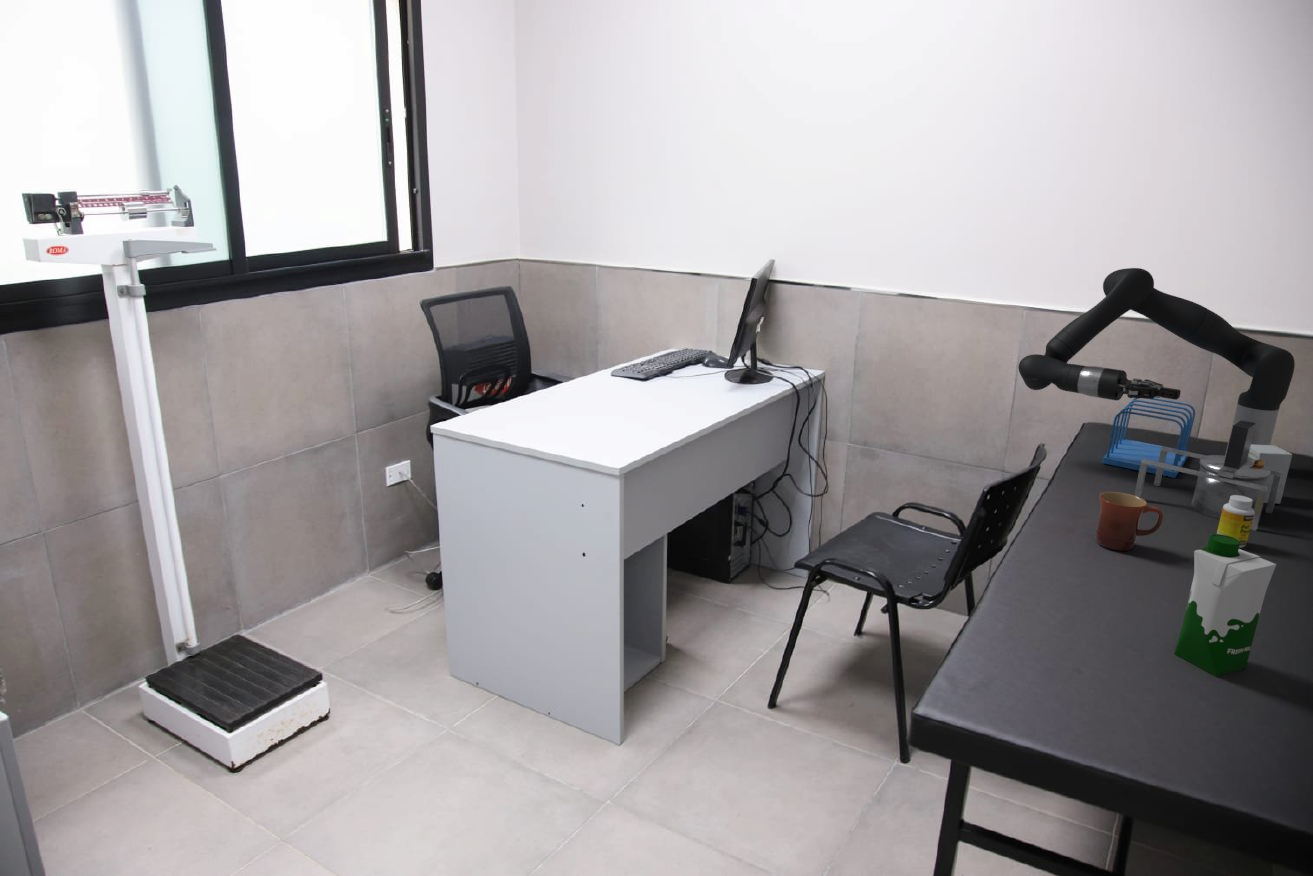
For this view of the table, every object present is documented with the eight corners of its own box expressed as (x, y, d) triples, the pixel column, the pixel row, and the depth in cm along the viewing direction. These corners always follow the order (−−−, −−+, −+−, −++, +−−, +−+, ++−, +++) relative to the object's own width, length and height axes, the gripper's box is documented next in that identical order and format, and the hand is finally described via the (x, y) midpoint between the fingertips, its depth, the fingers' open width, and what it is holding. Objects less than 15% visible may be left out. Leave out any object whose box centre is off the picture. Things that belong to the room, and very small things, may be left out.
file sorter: (1174, 479, 224) (1187, 422, 219) (1101, 464, 233) (1112, 409, 229) (1188, 457, 243) (1199, 403, 238) (1119, 444, 253) (1129, 393, 248)
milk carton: (1201, 642, 143) (1228, 529, 137) (1256, 670, 135) (1288, 552, 129) (1164, 652, 139) (1190, 537, 134) (1218, 682, 131) (1249, 560, 126)
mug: (1090, 548, 178) (1099, 502, 175) (1090, 534, 186) (1098, 488, 183) (1157, 560, 174) (1167, 513, 171) (1153, 545, 181) (1163, 499, 178)
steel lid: (1190, 469, 198) (1200, 424, 195) (1209, 455, 209) (1219, 412, 206) (1260, 485, 189) (1272, 437, 186) (1276, 469, 200) (1288, 424, 197)
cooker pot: (1133, 499, 208) (1141, 459, 205) (1154, 484, 219) (1162, 446, 216) (1255, 530, 191) (1266, 487, 188) (1272, 512, 202) (1282, 471, 199)
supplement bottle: (1238, 551, 180) (1249, 504, 177) (1209, 541, 184) (1220, 496, 181) (1251, 545, 183) (1262, 500, 180) (1222, 536, 187) (1233, 491, 184)
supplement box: (1263, 493, 215) (1275, 444, 211) (1280, 504, 208) (1293, 454, 204) (1231, 491, 215) (1243, 443, 212) (1248, 502, 208) (1260, 452, 205)
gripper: (1094, 371, 211) (1173, 383, 199) (1113, 364, 220) (1190, 375, 208) (1089, 401, 213) (1168, 415, 202) (1108, 392, 222) (1184, 405, 211)
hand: (1179, 394), depth 205 cm, fingers closed
